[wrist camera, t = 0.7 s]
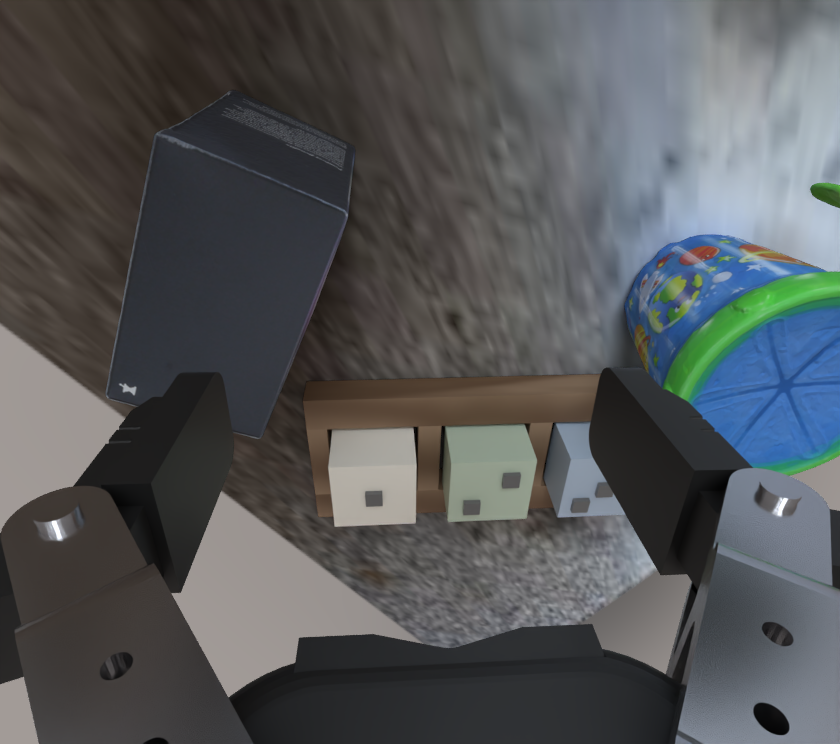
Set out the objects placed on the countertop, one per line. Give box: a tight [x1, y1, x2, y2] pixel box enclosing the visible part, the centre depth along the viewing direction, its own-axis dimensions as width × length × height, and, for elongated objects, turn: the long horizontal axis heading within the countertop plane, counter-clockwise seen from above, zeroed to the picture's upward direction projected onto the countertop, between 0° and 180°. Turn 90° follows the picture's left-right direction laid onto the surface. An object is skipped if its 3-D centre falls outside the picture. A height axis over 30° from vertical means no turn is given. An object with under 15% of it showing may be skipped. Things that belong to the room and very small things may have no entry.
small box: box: [106, 90, 355, 439], centre depth 23 cm, size 11×6×10 cm, turn 155°
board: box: [303, 374, 601, 517], centre depth 36 cm, size 10×22×2 cm, turn 89°
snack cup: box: [624, 183, 840, 476], centre depth 27 cm, size 16×10×10 cm
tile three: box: [543, 421, 626, 517], centre depth 34 cm, size 5×5×4 cm
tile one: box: [328, 427, 417, 527], centre depth 33 cm, size 5×5×4 cm
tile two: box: [442, 423, 537, 522], centre depth 34 cm, size 5×5×4 cm
